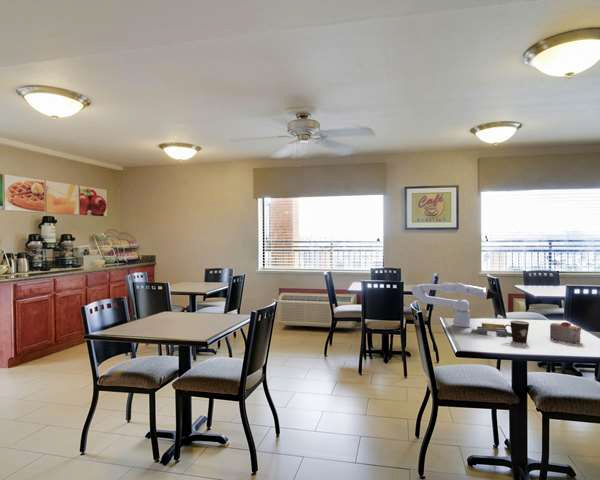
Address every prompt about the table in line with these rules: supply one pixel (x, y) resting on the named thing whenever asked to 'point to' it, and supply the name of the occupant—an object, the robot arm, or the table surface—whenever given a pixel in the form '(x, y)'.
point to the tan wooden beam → (492, 326)
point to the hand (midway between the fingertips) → (500, 296)
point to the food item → (565, 332)
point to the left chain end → (480, 330)
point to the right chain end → (502, 332)
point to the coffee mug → (518, 331)
